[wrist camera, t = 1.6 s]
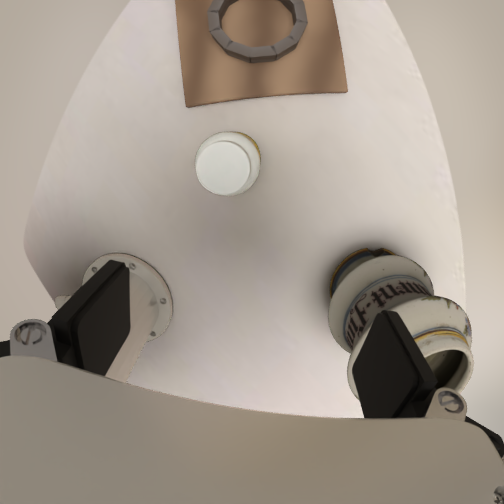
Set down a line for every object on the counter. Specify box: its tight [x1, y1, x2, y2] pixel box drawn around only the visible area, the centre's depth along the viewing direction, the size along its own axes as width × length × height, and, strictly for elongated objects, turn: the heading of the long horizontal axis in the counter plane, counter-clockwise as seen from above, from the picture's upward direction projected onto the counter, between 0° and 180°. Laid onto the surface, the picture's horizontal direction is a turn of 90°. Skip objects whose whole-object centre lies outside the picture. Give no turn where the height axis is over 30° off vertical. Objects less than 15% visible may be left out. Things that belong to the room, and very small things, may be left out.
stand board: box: [175, 0, 348, 108], centre depth 23 cm, size 16×16×4 cm
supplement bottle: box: [195, 132, 261, 196], centre depth 26 cm, size 5×5×10 cm
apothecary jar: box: [328, 248, 474, 401], centre depth 27 cm, size 12×12×18 cm
